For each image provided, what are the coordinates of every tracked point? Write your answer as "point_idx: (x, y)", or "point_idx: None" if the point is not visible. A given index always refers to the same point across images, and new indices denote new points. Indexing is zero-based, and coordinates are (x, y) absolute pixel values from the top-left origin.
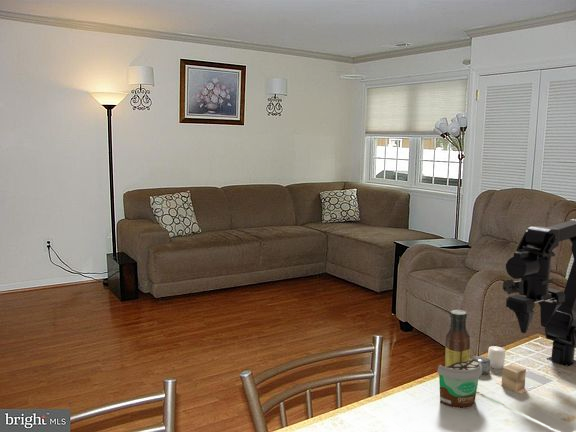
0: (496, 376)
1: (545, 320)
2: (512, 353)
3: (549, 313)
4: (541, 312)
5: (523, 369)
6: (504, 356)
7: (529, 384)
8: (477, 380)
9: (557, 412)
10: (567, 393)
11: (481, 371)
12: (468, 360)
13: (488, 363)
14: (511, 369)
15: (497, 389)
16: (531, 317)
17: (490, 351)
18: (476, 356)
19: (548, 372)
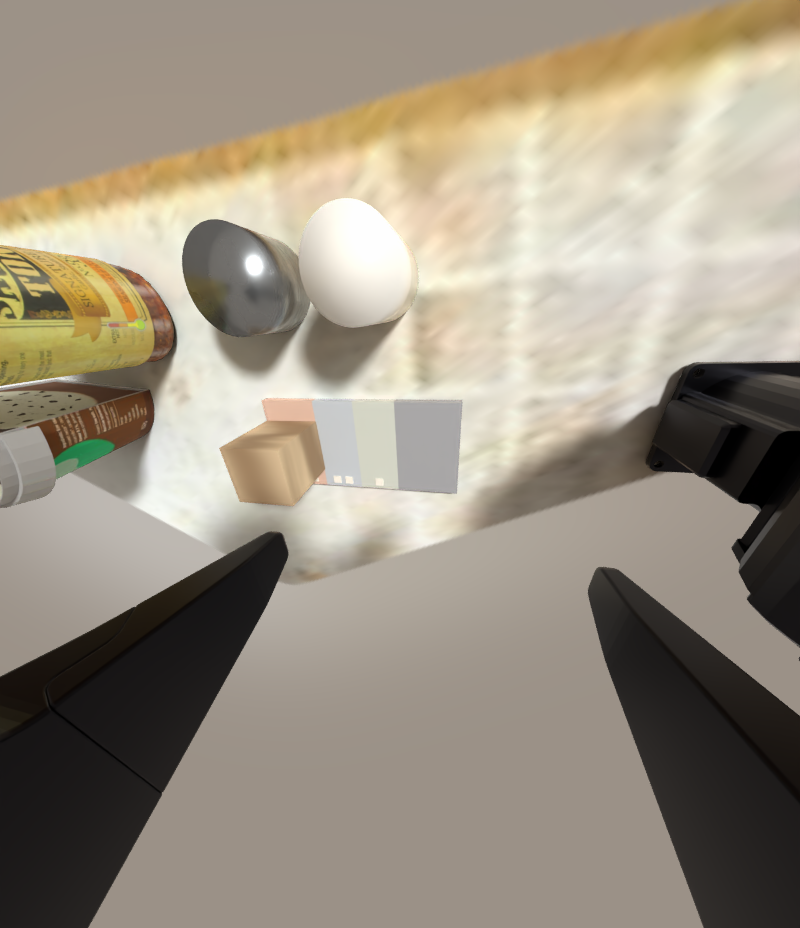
0: (316, 350)
1: (622, 670)
2: (672, 157)
3: (695, 853)
4: (748, 766)
5: (282, 502)
6: (378, 322)
7: (357, 466)
8: (63, 475)
9: (311, 557)
10: (421, 539)
11: (35, 497)
12: (32, 380)
13: (246, 336)
14: (239, 477)
15: (253, 418)
16: (146, 793)
17: (303, 258)
18: (230, 229)
19: (533, 441)
